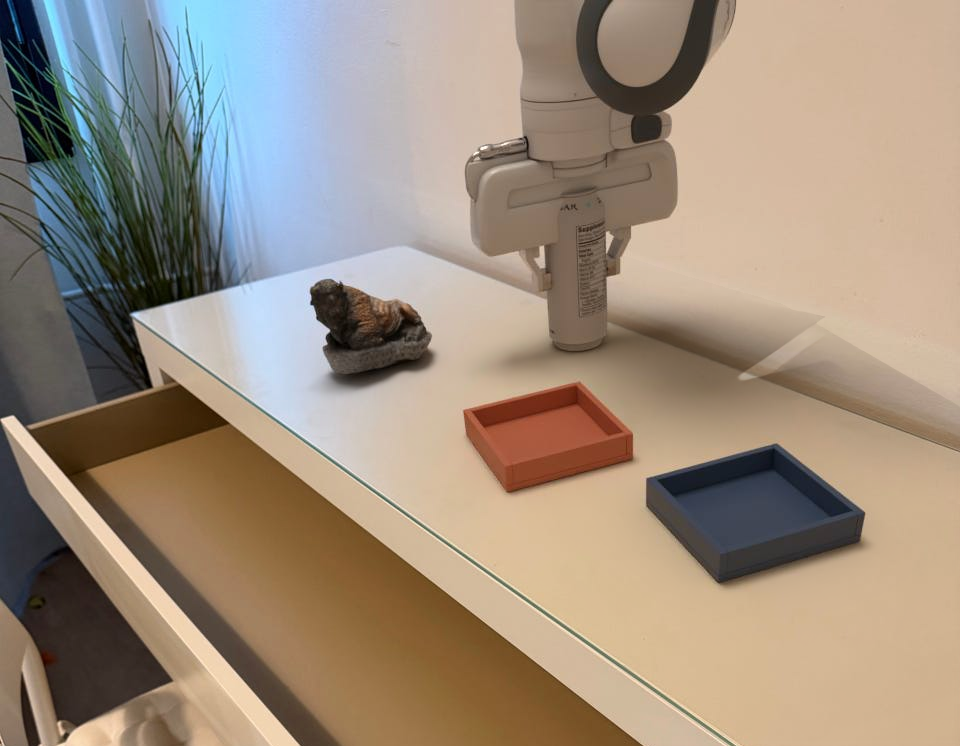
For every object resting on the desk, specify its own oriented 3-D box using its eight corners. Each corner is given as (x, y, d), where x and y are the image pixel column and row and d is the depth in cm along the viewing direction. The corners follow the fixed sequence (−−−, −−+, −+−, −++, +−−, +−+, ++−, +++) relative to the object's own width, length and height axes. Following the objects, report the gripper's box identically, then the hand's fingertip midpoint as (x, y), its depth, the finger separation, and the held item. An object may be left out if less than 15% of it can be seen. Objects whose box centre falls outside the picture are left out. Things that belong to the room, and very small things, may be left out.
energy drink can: (575, 325, 100) (568, 175, 90) (619, 336, 96) (618, 181, 87) (537, 345, 97) (527, 192, 87) (582, 358, 93) (576, 199, 84)
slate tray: (773, 469, 74) (776, 442, 72) (860, 541, 66) (866, 512, 64) (645, 504, 72) (645, 477, 70) (718, 583, 64) (720, 554, 62)
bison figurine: (415, 340, 101) (401, 245, 95) (448, 360, 97) (435, 261, 90) (316, 374, 97) (294, 277, 91) (344, 396, 92) (323, 295, 86)
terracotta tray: (580, 405, 86) (579, 380, 84) (633, 459, 77) (633, 433, 76) (465, 434, 84) (462, 409, 82) (507, 492, 76) (504, 466, 74)
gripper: (473, 156, 80) (489, 314, 89) (688, 113, 83) (683, 270, 92) (451, 142, 84) (469, 294, 93) (656, 102, 88) (654, 252, 97)
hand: (576, 282), depth 93 cm, fingers closed on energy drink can, 6 cm apart
